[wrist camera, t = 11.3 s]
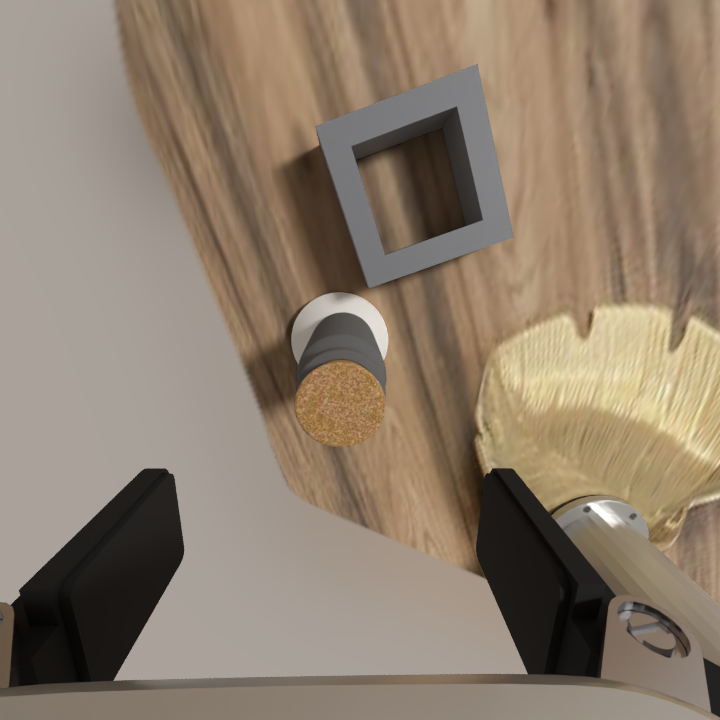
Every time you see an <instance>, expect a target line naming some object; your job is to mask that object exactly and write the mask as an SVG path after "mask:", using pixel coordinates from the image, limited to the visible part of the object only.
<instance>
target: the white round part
mask: <svg viewBox="0 0 720 720" xmlns="http://www.w3.org/2000/svg"><path fill="white" fill-rule="evenodd" d="M340 312H347V313H351V314H355V315H357V316H359V317H360V318H362V319H363V320H364V321H365V322H366V323H367V324H368V325H369V327H370V328H371V330H372V332H373V334H374V337H375V339H376V342H377V345H378V347H379V350H380V352H381V355H382V358H383V361H384V358H385V356H386V353H387V348H388V332H387V328H386V325H385V322H384V320H383V318H382V316H381V315H380V313H379V312H378V311H377V309H376V308H375V307H374V306H373V305H372V304H371V303H370V302H368V301H367V300H365V299H364V298H362V297H360V296H357V295H355V294H351V293H346V292H333V293H328V294H324V295H322V296H319V297H317V298H316V299H314V300H312V301H311V302H310V303H309V304H307V305H306V306H305V307H304V308H303V310H302V311H301V312H300V313H299V315H298V317H297V319H296V320H295V323H294V326H293V329H292V336H291V344H292V350H293V354H294V357H295V359H296V361H297V363H298V364H299V361H300V358H301V356H302V353H303V351H304V349H305V347H306V345H307V343H308V341H309V339H310V337H311V335H312V333H313V332H314V330H315V328H316V327H317V325H318V324H319V323H320V322H321V321H322V320H323V319H324V318H325V317H327V316H329V315H332V314H334V313H340Z"/></svg>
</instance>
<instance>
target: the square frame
mask: <svg viewBox="0 0 720 720" xmlns="http://www.w3.org/2000/svg"><path fill="white" fill-rule="evenodd" d="M315 127H316V131H317V136H318V140H319V144H320V148H321V151H322V154H323V157H324V160H325V163H326V166H327V169H328V172H329V175H330V178H331V181H332V184H333V187H334V190H335V193H336V196H337V199H338V202H339V205H340V208H341V211H342V214H343V217H344V220H345V223H346V226H347V229H348V232H349V235H350V238H351V241H352V244H353V247H354V250H355V253H356V256H357V259H358V262H359V265H360V268H361V271H362V274H363V277H364V280H365V283H366V285H367V287H368V288H371V287H374V286H377V285H380V284H383V283H385V282H388V281H391V280H394V279H397V278H400V277H402V276H405V275H408V274H411V273H414V272H417V271H419V270H422V269H425V268H428V267H431V266H433V265H436V264H439V263H442V262H445V261H448V260H450V259H453V258H456V257H459V256H462V255H465V254H467V253H470V252H473V251H476V250H479V249H482V248H484V247H487V246H490V245H493V244H496V243H498V242H501V241H504V240H507V239H510V238H513V237H514V236H513V232H512V227H511V222H510V217H509V213H508V208H507V203H506V198H505V193H504V189H503V184H502V179H501V174H500V169H499V165H498V160H497V155H496V150H495V146H494V141H493V136H492V131H491V126H490V122H489V117H488V112H487V107H486V102H485V98H484V93H483V88H482V83H481V79H480V74H479V69H478V64H476V65H474V66H471V67H468V68H466V69H463V70H461V71H458V72H455V73H453V74H450V75H448V76H445V77H442V78H440V79H437V80H434V81H432V82H429V83H427V84H424V85H421V86H419V87H416V88H414V89H411V90H408V91H406V92H403V93H401V94H398V95H395V96H393V97H390V98H388V99H385V100H382V101H380V102H377V103H375V104H372V105H369V106H367V107H364V108H362V109H359V110H356V111H354V112H351V113H349V114H346V115H343V116H341V117H338V118H336V119H333V120H330V121H328V122H325V123H323V124H320V125H317V126H315ZM440 128H442V129H443V133H444V137H445V141H446V145H447V149H448V154H449V158H450V162H451V166H452V170H453V174H454V178H455V182H456V186H457V191H458V195H459V199H460V203H461V207H462V211H463V215H464V219H465V224H466V226H464V227H461V228H458V229H455V230H453V231H450V232H447V233H444V234H441V235H439V236H436V237H433V238H430V239H427V240H425V241H422V242H419V243H416V244H414V245H411V246H408V247H405V248H402V249H400V250H397V251H394V252H391V253H388V254H386V255H385V254H384V250H383V247H382V244H381V241H380V237H379V234H378V231H377V228H376V225H375V221H374V218H373V215H372V212H371V208H370V205H369V202H368V199H367V196H366V192H365V189H364V186H363V183H362V180H361V176H360V173H359V170H358V167H357V163H356V160H357V159H360V158H363V157H365V156H368V155H371V154H373V153H376V152H379V151H381V150H384V149H387V148H389V147H392V146H395V145H397V144H400V143H403V142H405V141H408V140H411V139H413V138H416V137H418V136H421V135H424V134H426V133H429V132H432V131H434V130H437V129H440Z"/></svg>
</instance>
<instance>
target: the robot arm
mask: <svg viewBox="0 0 720 720" xmlns="http://www.w3.org/2000/svg"><path fill="white" fill-rule="evenodd" d="M476 552H477V557H478V560H479V563H480V565H481V567H482V570H483V572H484V574H485V577H486V579H487V581H488V583H489V585H490V588H491V590H492V593H493V595H494V597H495V599H496V602H497V604H498V606H499V608H500V611H501V613H502V615H503V618H504V620H505V622H506V625H507V627H508V629H509V631H510V634H511V636H512V638H513V640H514V643H515V645H516V647H517V650H518V652H519V654H520V656H521V658H522V661H523V663H524V666H525V668H526V670H527V673H528V674H527V675H526V674H449V675H448V674H444V675H443V674H440V675H361V676H360V675H359V676H303V677H253V678H251V677H249V678H209V679H208V678H206V679H168V680H125V681H113V680H114V678H115V677H116V675H117V673H118V671H119V670H120V668H121V666H122V664H123V663H124V661H125V659H126V657H127V656H128V654H129V652H130V650H131V649H132V647H133V645H134V643H135V642H136V640H137V638H138V637H139V635H140V633H141V631H142V630H143V628H144V626H145V624H146V623H147V621H148V619H149V617H150V616H151V614H152V612H153V610H154V609H155V607H156V605H157V603H158V602H159V600H160V598H161V596H162V595H163V593H164V591H165V590H166V588H167V586H168V584H169V582H170V581H171V579H172V577H173V576H174V574H175V572H176V570H177V569H178V567H179V565H180V563H181V561H182V558H183V555H184V544H183V536H182V529H181V522H180V515H179V508H178V500H177V493H176V486H175V479H174V476H173V474H169V472H168V470H167V469H144V470H142V471H141V472H140V473H139V474H138V475H137V476H136V477H135V478H134V479H133V480H132V481H131V482H130V483H129V484H128V485H127V486H126V487H124V489H123V490H122V491H120V492H119V493H118V494H117V495H116V496H115V497H114V498H113V499H112V500H111V501H110V502H109V503H108V504H107V505H106V506H105V507H104V508H103V509H102V510H101V511H100V512H99V513H98V514H97V515H96V516H95V517H94V518H93V519H92V520H91V521H90V522H89V523H87V525H85V526H84V527H83V528H82V529H81V530H80V531H79V532H78V533H77V534H76V535H75V536H74V537H73V538H72V539H71V540H70V541H69V542H68V543H67V544H66V545H65V546H64V547H63V548H62V549H61V550H60V551H59V552H58V553H57V554H56V555H55V556H54V557H53V558H52V559H50V561H48V562H47V564H45V566H43V567H42V568H41V569H40V570H39V571H38V572H37V573H36V574H35V575H34V576H33V577H32V578H31V579H30V580H29V581H28V582H27V583H26V584H25V585H24V586H23V587H22V588H21V589H20V590H19V592H20V596H19V597H18V598H17V599H16V600H15V601H14V602H13V603H12V604H11V605H9V604H7V603H1V602H0V720H720V605H719V604H718V603H717V602H716V601H715V600H713V599H712V598H711V597H710V596H709V595H708V594H707V593H706V592H705V591H704V590H703V589H701V588H700V587H699V586H698V585H697V584H696V583H695V582H694V581H693V580H692V579H690V578H689V577H688V576H687V575H686V574H685V573H684V572H683V571H682V570H681V569H680V568H678V567H677V566H676V565H675V564H674V563H673V562H672V561H671V560H670V559H669V558H668V557H666V556H665V555H664V554H663V553H662V552H661V551H660V550H659V549H658V548H657V547H655V546H654V545H653V544H652V543H651V542H650V541H649V531H648V527H647V523H646V521H645V520H644V518H643V516H642V515H641V514H640V513H639V512H638V511H637V510H636V509H635V508H634V507H632V506H631V505H630V504H629V503H627V502H625V501H623V500H621V499H619V498H615V497H611V496H602V495H597V496H588V497H584V498H581V499H577V500H575V501H573V502H570V503H568V504H566V505H565V506H563V507H561V508H560V509H558V510H557V511H556V512H555V513H554V514H552V515H550V514H549V513H548V512H547V510H546V509H545V508H544V507H543V505H542V504H541V503H540V502H539V500H538V499H537V498H536V497H535V495H534V494H533V493H532V492H531V491H530V489H529V488H528V487H527V486H526V484H525V483H524V482H523V481H522V479H521V478H520V477H519V476H518V474H517V473H516V472H515V471H514V470H513V469H511V468H493V469H492V470H491V472H490V473H487V474H486V475H485V479H484V487H483V495H482V503H481V511H480V519H479V527H478V535H477V544H476Z"/></svg>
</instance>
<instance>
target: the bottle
mask: <svg viewBox="0 0 720 720" xmlns="http://www.w3.org/2000/svg"><path fill="white" fill-rule="evenodd" d="M296 379H297V385H296V396H295V403H294V404H295V413H296V417H297V420H298V422H299V424H300V425H301V427H302V428H303V430H304V431H305V432H306V433H307V434H308V435H309V436H310V437H311V438H313V439H314V440H316V441H318V442H320V443H322V444H325V445H328V446H334V447H347V446H351V445H355V444H358V443H360V442H362V441H364V440H366V439H367V438H369V437H370V436H371V435H372V434H373V433H374V432H375V431H376V430H377V429H378V427H379V425H380V424H381V422H382V420H383V417H384V413H385V407H386V402H385V394H386V393H385V385H386V368H385V364H384V361H383V358H382V355H381V352H380V350H379V347H378V345H377V342H376V339H375V337H374V334H373V332H372V330H371V328H370V327H369V325H368V324H367V323H366V322H365V321H364V320H363V319H362V318H360V317H359V316H357V315H355V314H351V313H347V312H340V313H334V314H332V315H329V316H327V317H325V318H324V319H323V320H322V321H321V322H320V323H319V324H318V325H317V327H316V328H315V330H314V332H313V333H312V335H311V337H310V339H309V341H308V343H307V345H306V347H305V349H304V351H303V353H302V356H301V358H300V361H299V364H298V367H297V375H296Z"/></svg>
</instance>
